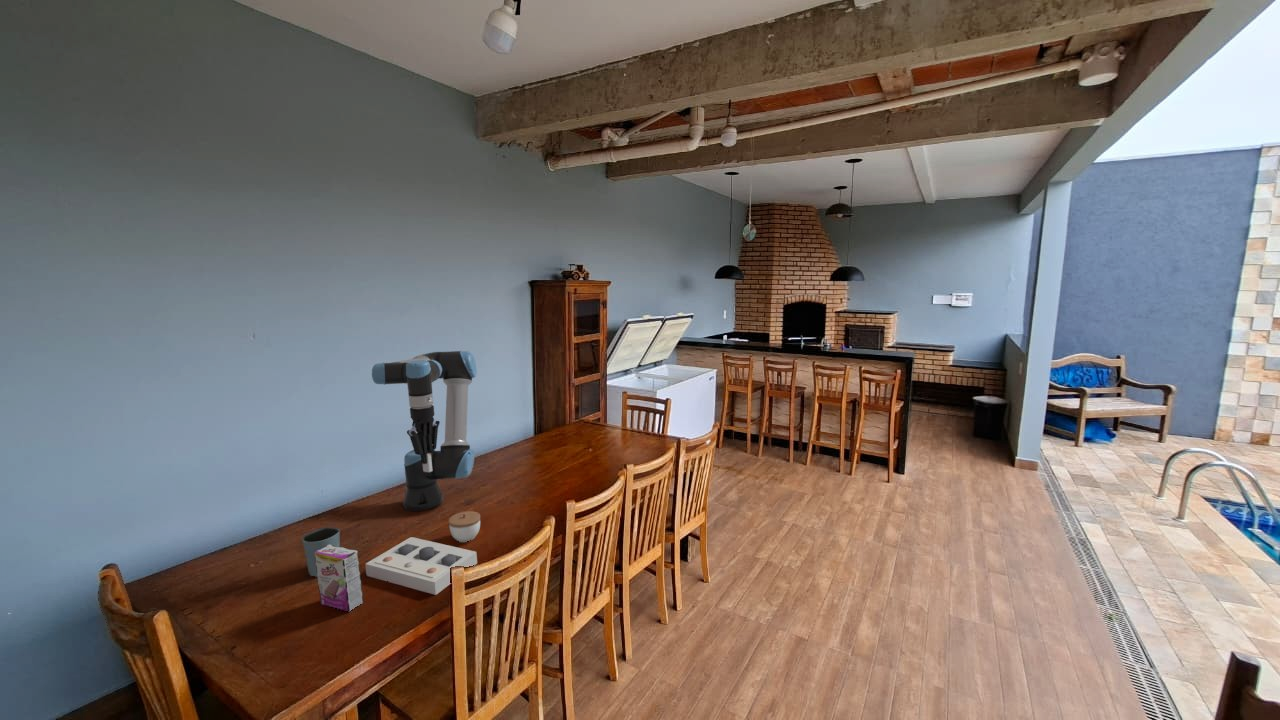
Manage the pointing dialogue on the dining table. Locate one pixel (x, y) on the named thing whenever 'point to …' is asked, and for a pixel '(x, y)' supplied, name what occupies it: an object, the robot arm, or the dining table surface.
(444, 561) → the button
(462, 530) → the lidded jar
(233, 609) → the dining table surface
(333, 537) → the grey plant pot
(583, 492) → the dining table surface
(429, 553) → the button
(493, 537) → the dining table surface
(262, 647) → the dining table surface
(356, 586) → the candy bar box
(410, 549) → the button
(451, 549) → the button board
